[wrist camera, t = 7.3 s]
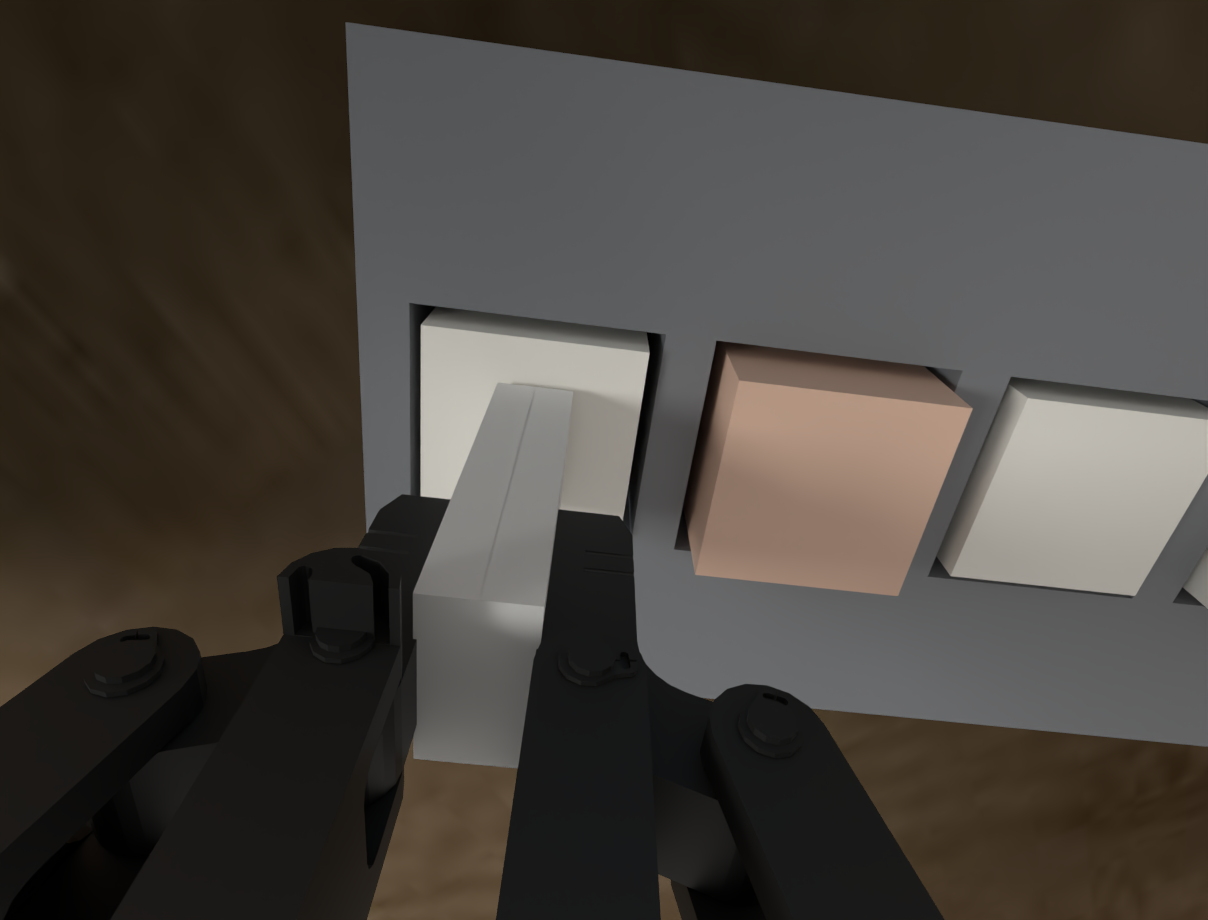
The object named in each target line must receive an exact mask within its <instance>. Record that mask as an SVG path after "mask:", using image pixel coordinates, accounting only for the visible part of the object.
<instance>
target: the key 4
mask: <svg viewBox="0 0 1208 920" xmlns="http://www.w3.org/2000/svg"><path fill="white" fill-rule="evenodd" d="M1183 588H1184V589H1185V590H1186V591H1188V592H1189V593H1190V594H1191V595H1192V596H1193V597H1195V598H1196V599H1197V600H1198V601H1199V602H1200V603H1202V604H1203V605H1204V606H1205V607H1206V608H1207V609H1208V547H1207V549H1206V551H1205V552H1204V554H1203V555H1202V557H1201V559H1200V560H1199V562H1198V563H1197V565H1196V566H1195V568H1194V570H1193V571H1192V573H1191V574H1190V576H1189V578H1188V579H1187V581H1186V582H1185V584H1184V585H1183Z"/></svg>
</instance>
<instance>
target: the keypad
mask: <svg viewBox="0 0 1208 920" xmlns="http://www.w3.org/2000/svg"><path fill="white" fill-rule="evenodd" d="M345 25H346V49H347V73H348V97H349V122H350V146H351V170H352V194H353V218H354V243H355V267H356V291H357V315H358V340H359V364H360V388H361V412H362V437H363V461H364V485H365V509H366V533H368V529H369V527H370V526H371V524H372V522H373V520H374V519H375V517H376V515H377V513H378V511H379V510H380V509H381V508H383V507H384V506H386V505H387V504H388V503H390V502H391V501H393V500H394V499H396V498H397V497H399V496H400V495H402V494H405V495H414V496H421V324H422V323H423V322H424V320H425V319H426V318H427V317H428V316H429V314H430V313H431V312H432V311H433V310H434V308H435V307H436V306H438V307H446V308H455V309H463V310H471V311H479V312H487V313H496V314H504V315H512V316H520V317H528V318H536V319H545V320H553V321H561V322H569V323H577V324H585V325H594V326H602V327H610V328H618V329H626V330H634V331H643V332H651V338H650V344H649V352H650V354H649V360H648V366H647V372H646V379H645V385H644V391H643V397H642V404H641V410H640V416H639V422H638V429H637V435H636V441H635V447H634V454H633V460H632V466H631V472H630V479H629V485H628V491H627V497H626V504H625V510H624V516H623V522H624V524H625V525H626V527H627V528H628V529H629V531H630V532H631V534H632V536H633V560H634V581H635V603H636V625H637V642H638V647H639V652H640V653H641V654H642V657H643V659H644V661H645V663H646V665H647V666H648V667H649V668H650V669H651V670H652V671H653V672H654V673H655V674H656V675H657V676H658V677H660V678H661V679H662V680H664V681H665V682H667V683H668V684H670V685H671V686H674V687H676V688H678V689H680V690H682V691H684V692H687V693H689V694H692V695H695V696H698V697H700V698H710V699H716V698H717V697H718V696H719V695H721V694H722V693H723V692H724V691H725V690H726V689H728V688H732V687H736V686H739V685H743V684H756V685H768V686H770V687H773V688H776V689H779V690H782V691H785V692H787V693H790V694H791V695H793V696H794V697H796V698H797V699H799V700H800V701H802V702H803V703H805V704H806V705H808V706H809V707H810V708H814V709H824V710H834V711H845V712H855V713H865V714H875V715H886V716H896V717H906V718H917V719H927V720H937V721H948V722H958V723H968V724H979V725H989V726H999V727H1010V728H1020V729H1030V730H1041V731H1051V732H1061V733H1072V734H1082V735H1092V736H1103V737H1113V738H1123V739H1134V740H1144V741H1154V742H1165V743H1175V744H1185V745H1195V746H1206V747H1208V609H1207V608H1206V607H1205V606H1204V605H1203V604H1202V603H1200V602H1199V601H1198V600H1197V599H1196V598H1195V597H1193V596H1192V595H1191V594H1190V593H1189V592H1188V591H1186V590H1185V589H1184V588H1183V585H1184V584H1185V582H1186V581H1187V579H1188V578H1189V576H1190V574H1191V573H1192V571H1193V570H1194V568H1195V566H1196V565H1197V563H1198V562H1199V560H1200V559H1201V557H1202V555H1203V554H1204V552H1205V551H1206V549H1207V547H1208V475H1207V476H1206V478H1205V480H1204V481H1203V483H1202V485H1201V486H1200V488H1199V490H1198V491H1197V493H1196V495H1195V496H1194V498H1193V500H1192V501H1191V503H1190V505H1189V506H1188V508H1187V510H1186V511H1185V513H1184V515H1183V516H1182V518H1181V520H1180V522H1179V523H1178V525H1177V527H1176V528H1175V530H1174V532H1173V533H1172V535H1171V537H1170V538H1169V540H1168V542H1167V543H1166V545H1165V547H1164V548H1163V550H1162V552H1161V553H1160V555H1159V557H1158V558H1157V560H1156V562H1155V563H1154V565H1153V567H1152V568H1151V570H1150V572H1149V573H1148V575H1147V577H1146V578H1145V580H1144V582H1143V584H1142V585H1141V587H1140V589H1139V590H1138V592H1137V594H1136V595H1135V596H1131V595H1122V594H1113V593H1103V592H1094V591H1085V590H1075V589H1066V588H1057V587H1048V586H1038V585H1029V584H1020V583H1010V582H1001V581H992V580H982V579H973V578H964V577H954V576H950V575H949V573H948V572H947V570H946V569H945V568H944V566H943V565H942V563H941V562H940V561H939V559H938V558H937V556H936V555H937V553H938V551H939V548H940V546H941V543H942V541H943V539H944V536H945V534H946V531H947V529H948V527H949V524H950V522H951V519H952V517H953V515H954V512H955V510H956V508H957V505H958V503H959V500H960V498H961V496H962V493H963V491H964V488H965V486H966V484H967V481H968V479H969V476H970V474H971V472H972V469H973V467H974V464H975V462H976V460H977V457H978V455H979V452H980V450H981V448H982V445H983V443H984V440H985V438H986V436H987V433H988V431H989V428H990V426H991V424H992V421H993V419H994V416H995V414H996V412H997V409H998V407H999V404H1000V402H1001V400H1002V397H1003V395H1004V392H1005V390H1006V388H1007V385H1008V383H1009V380H1010V378H1011V377H1019V378H1027V379H1035V380H1043V381H1051V382H1059V383H1068V384H1076V385H1084V386H1092V387H1100V388H1108V389H1117V390H1125V391H1133V392H1141V393H1149V394H1158V395H1166V396H1174V397H1182V398H1190V399H1192V400H1194V401H1196V402H1198V403H1199V404H1201V405H1203V406H1205V407H1207V408H1208V144H1205V143H1198V142H1191V141H1184V140H1177V139H1169V138H1162V137H1155V136H1148V135H1141V134H1134V133H1127V132H1120V131H1113V130H1106V129H1099V128H1092V127H1085V126H1077V125H1070V124H1063V123H1056V122H1049V121H1042V120H1035V119H1028V118H1021V117H1014V116H1007V115H1000V114H993V113H985V112H978V111H971V110H964V109H957V108H950V107H943V106H936V105H929V104H922V103H915V102H908V101H900V100H893V99H886V98H879V97H872V96H865V95H858V94H851V93H844V92H837V91H830V90H823V89H816V88H808V87H801V86H794V85H787V84H780V83H773V82H766V81H759V80H752V79H745V78H738V77H731V76H723V75H716V74H709V73H702V72H695V71H688V70H681V69H674V68H667V67H660V66H653V65H646V64H639V63H631V62H624V61H617V60H610V59H603V58H596V57H589V56H582V55H575V54H568V53H561V52H554V51H547V50H539V49H532V48H525V47H518V46H511V45H504V44H497V43H490V42H483V41H476V40H469V39H462V38H454V37H447V36H440V35H433V34H426V33H419V32H412V31H405V30H398V29H391V28H384V27H377V26H370V25H362V24H355V23H348V22H345ZM716 341H724V342H733V343H741V344H749V345H757V346H765V347H773V348H782V349H790V350H798V351H806V352H814V353H822V354H831V355H839V356H847V357H855V358H863V359H871V360H880V361H888V362H896V363H904V364H912V365H921V366H924V367H925V368H927V369H928V370H929V371H930V372H931V373H932V374H933V375H935V376H936V377H937V378H938V379H939V380H940V381H942V382H943V383H944V384H945V385H946V386H947V387H949V388H950V389H951V390H952V391H953V392H954V393H955V394H957V395H958V396H959V397H960V398H961V399H962V400H964V401H965V402H966V403H967V404H968V405H969V406H971V407H972V408H973V409H972V412H971V414H970V417H969V419H968V422H967V424H966V427H965V429H964V432H963V434H962V437H961V439H960V442H959V444H958V447H957V449H956V452H955V454H954V457H953V459H952V462H951V464H950V467H949V469H948V472H947V474H946V477H945V479H944V482H943V484H942V487H941V489H940V492H939V494H938V497H937V499H936V502H935V504H934V507H933V509H932V512H931V514H930V517H929V519H928V522H927V524H926V527H925V529H924V532H923V534H922V537H921V539H920V542H919V545H918V547H917V550H916V552H915V555H914V557H913V560H912V562H911V565H910V567H909V570H908V572H907V575H906V577H905V580H904V582H903V585H902V587H901V590H900V592H899V595H898V596H891V595H882V594H872V593H863V592H853V591H844V590H834V589H825V588H815V587H806V586H797V585H787V584H778V583H768V582H759V581H749V580H740V579H730V578H721V577H711V576H702V575H695V571H694V565H693V559H692V554H691V548H690V542H689V537H688V531H687V525H686V520H685V514H684V508H683V502H684V498H685V493H686V488H687V483H688V478H689V473H690V468H691V463H692V458H693V454H694V449H695V444H696V439H697V434H698V429H699V424H700V419H701V414H702V410H703V405H704V400H705V395H706V390H707V385H708V380H709V375H710V370H711V366H712V361H713V356H714V351H715V346H716Z"/></svg>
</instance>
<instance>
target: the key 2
mask: <svg viewBox="0 0 1208 920" xmlns="http://www.w3.org/2000/svg"><path fill="white" fill-rule="evenodd" d="M972 409H973V408H972V407H971V406H969V405H968V404H967V403H966V402H965V401H964V400H962V399H961V398H960V397H959V396H958V395H957V394H955V393H954V392H953V391H952V390H951V389H950V388H949V387H947V386H946V385H945V384H944V383H943V382H942V381H940V380H939V379H938V378H937V377H936V376H935V375H933V374H932V373H931V372H930V371H929V370H928V369H927V368H925V367H924V366H921V365H912V364H904V363H896V362H888V361H880V360H871V359H863V358H855V357H847V356H839V355H831V354H822V353H814V352H806V351H798V350H790V349H782V348H773V347H765V346H757V345H749V344H741V343H733V342H724V341H716V346H715V351H714V356H713V361H712V366H711V370H710V375H709V380H708V385H707V390H706V395H705V400H704V405H703V410H702V414H701V419H700V424H699V429H698V434H697V439H696V444H695V449H694V454H693V458H692V463H691V468H690V473H689V478H688V483H687V488H686V493H685V498H684V502H683V508H684V514H685V520H686V525H687V531H688V537H689V542H690V548H691V554H692V559H693V565H694V571H695V575H702V576H711V577H721V578H730V579H740V580H749V581H759V582H768V583H778V584H787V585H797V586H806V587H815V588H825V589H834V590H844V591H853V592H863V593H872V594H882V595H891V596H898V595H899V592H900V590H901V587H902V585H903V582H904V580H905V577H906V575H907V572H908V570H909V567H910V565H911V562H912V560H913V557H914V555H915V552H916V550H917V547H918V545H919V542H920V539H921V537H922V534H923V532H924V529H925V527H926V524H927V522H928V519H929V517H930V514H931V512H932V509H933V507H934V504H935V502H936V499H937V497H938V494H939V492H940V489H941V487H942V484H943V482H944V479H945V477H946V474H947V472H948V469H949V467H950V464H951V462H952V459H953V457H954V454H955V452H956V449H957V447H958V444H959V442H960V439H961V437H962V434H963V432H964V429H965V427H966V424H967V422H968V419H969V417H970V414H971V412H972Z"/></svg>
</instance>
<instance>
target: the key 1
mask: <svg viewBox="0 0 1208 920" xmlns="http://www.w3.org/2000/svg"><path fill="white" fill-rule="evenodd" d="M649 354H650V352H649V345H648V338H647V332H643V331H634V330H626V329H618V328H610V327H602V326H594V325H585V324H577V323H569V322H561V321H553V320H545V319H536V318H528V317H520V316H512V315H504V314H496V313H487V312H479V311H471V310H463V309H455V308H446V307H438V306H436V307H435V308H434V310H433V311H432V312H431V313H430V314H429V316H428V317H427V318H426V319H425V320H424V322H423V323H422V324H421V496H423V497H433V498H442V499H451V497H452V495H453V492H454V490H455V487H456V485H457V482H458V480H459V477H460V475H461V472H462V470H463V467H464V465H465V462H466V460H467V458H468V455H469V453H470V450H471V448H472V445H473V443H474V440H475V438H476V435H477V433H478V430H479V428H480V425H481V423H482V420H483V418H484V415H485V413H486V410H487V408H488V405H489V403H490V400H491V398H492V396H493V393H494V391H495V388H496V386H497V383H506V384H515V385H523V386H531V387H540V388H548V389H557V390H565V391H573V399H572V408H571V417H570V426H569V435H568V444H567V453H566V463H565V472H564V481H563V490H562V499H561V508H560V509H561V510H570V511H579V512H588V513H597V514H606V515H615V516H619V517H620V518H621V519H622V521H623V516H624V510H625V504H626V497H627V491H628V485H629V479H630V472H631V466H632V460H633V454H634V447H635V441H636V435H637V429H638V422H639V416H640V410H641V404H642V397H643V391H644V385H645V379H646V372H647V366H648V360H649Z"/></svg>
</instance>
